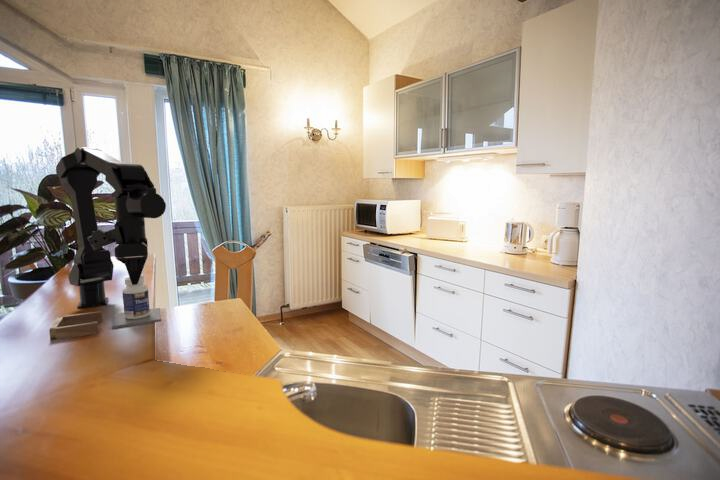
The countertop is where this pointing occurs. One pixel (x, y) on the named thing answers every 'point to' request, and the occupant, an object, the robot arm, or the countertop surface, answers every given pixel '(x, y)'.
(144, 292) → the pill bottle
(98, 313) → the wooden u-shaped frame
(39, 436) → the countertop surface
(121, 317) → the slate coaster
